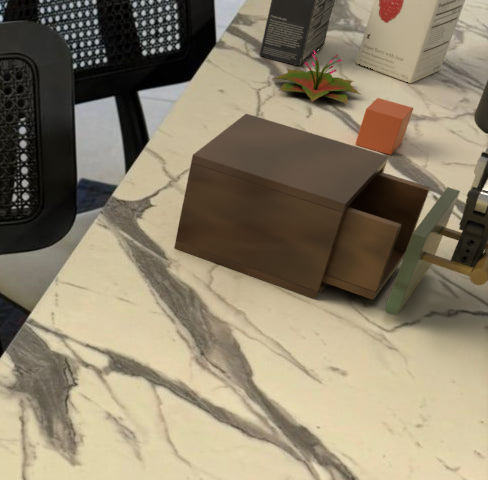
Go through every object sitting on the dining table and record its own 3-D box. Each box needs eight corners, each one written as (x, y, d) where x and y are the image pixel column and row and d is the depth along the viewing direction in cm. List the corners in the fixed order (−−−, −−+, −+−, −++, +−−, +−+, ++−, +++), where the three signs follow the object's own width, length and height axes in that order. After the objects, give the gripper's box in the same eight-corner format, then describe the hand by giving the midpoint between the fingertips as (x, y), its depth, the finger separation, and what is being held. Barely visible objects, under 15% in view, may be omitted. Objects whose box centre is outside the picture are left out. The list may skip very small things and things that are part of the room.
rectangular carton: (352, 64, 143) (386, -53, 133) (385, 51, 148) (420, -63, 138) (410, 85, 138) (450, -35, 128) (442, 71, 143) (483, -45, 133)
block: (401, 143, 123) (413, 107, 120) (390, 155, 120) (403, 118, 117) (366, 133, 125) (377, 97, 122) (354, 144, 122) (366, 108, 119)
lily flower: (263, 97, 131) (271, 61, 128) (275, 67, 139) (284, 32, 136) (357, 116, 129) (368, 79, 125) (364, 84, 137) (375, 49, 134)
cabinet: (358, 247, 103) (388, 156, 96) (315, 299, 95) (345, 204, 88) (225, 202, 108) (246, 113, 102) (173, 248, 100) (192, 154, 93)
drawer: (490, 285, 97) (524, 210, 92) (460, 338, 90) (495, 260, 84) (300, 221, 104) (321, 148, 99) (257, 266, 97) (277, 189, 91)
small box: (281, 36, 149) (300, -42, 142) (324, 47, 147) (345, -32, 140) (255, 55, 142) (274, -25, 135) (300, 67, 140) (321, -14, 133)
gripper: (577, 111, 75) (486, 313, 86) (607, 63, 83) (521, 252, 95) (474, 84, 78) (399, 282, 89) (513, 40, 86) (441, 226, 98)
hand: (462, 266), depth 92 cm, fingers closed
